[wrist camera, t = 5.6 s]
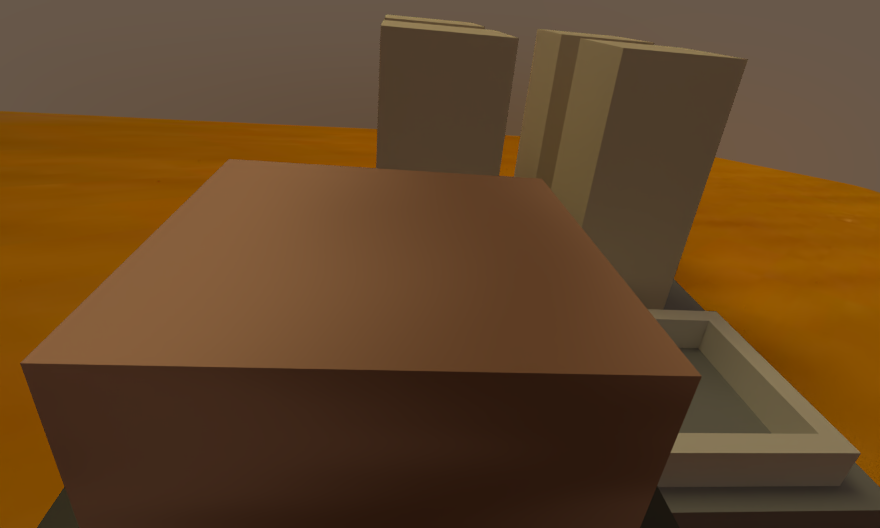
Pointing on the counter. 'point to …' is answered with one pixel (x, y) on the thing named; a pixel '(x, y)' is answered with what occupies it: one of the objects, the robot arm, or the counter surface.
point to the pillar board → (631, 235)
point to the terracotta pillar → (362, 363)
